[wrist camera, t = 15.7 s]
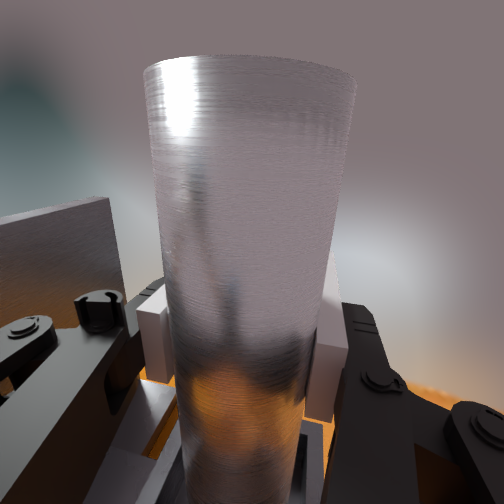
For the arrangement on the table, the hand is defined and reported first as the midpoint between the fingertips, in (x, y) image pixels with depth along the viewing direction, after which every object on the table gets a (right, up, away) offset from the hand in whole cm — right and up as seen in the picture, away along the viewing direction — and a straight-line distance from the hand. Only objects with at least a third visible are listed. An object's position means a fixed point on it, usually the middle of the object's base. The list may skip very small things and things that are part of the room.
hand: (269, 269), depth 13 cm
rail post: (-1, -10, -1) cm, 10 cm away
